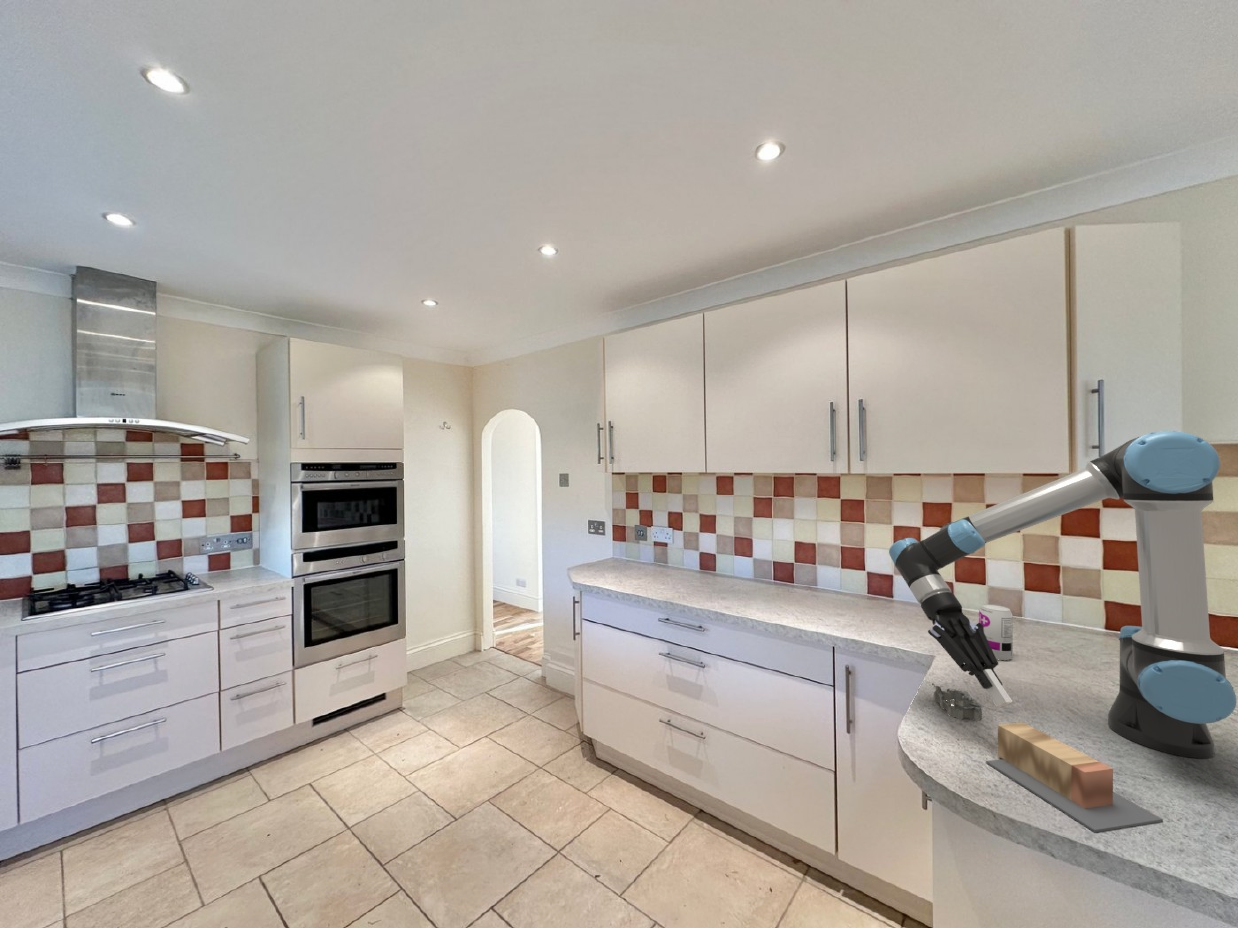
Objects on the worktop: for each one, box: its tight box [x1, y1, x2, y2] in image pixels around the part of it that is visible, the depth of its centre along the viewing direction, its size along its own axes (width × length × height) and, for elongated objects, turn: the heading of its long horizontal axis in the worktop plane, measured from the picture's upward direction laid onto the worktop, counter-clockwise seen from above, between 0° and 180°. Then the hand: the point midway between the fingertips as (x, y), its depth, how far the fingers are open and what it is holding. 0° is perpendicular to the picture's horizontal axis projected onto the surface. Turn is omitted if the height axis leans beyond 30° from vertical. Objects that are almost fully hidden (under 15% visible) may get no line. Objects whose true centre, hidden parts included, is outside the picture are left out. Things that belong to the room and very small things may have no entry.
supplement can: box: [978, 603, 1014, 661], centre depth 148 cm, size 8×8×15 cm
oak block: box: [997, 722, 1114, 809], centre depth 88 cm, size 6×6×15 cm
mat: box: [985, 758, 1164, 834], centre depth 85 cm, size 18×14×1 cm
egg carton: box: [931, 682, 985, 722], centre depth 114 cm, size 11×8×4 cm
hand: (1004, 704), depth 96 cm, fingers closed
